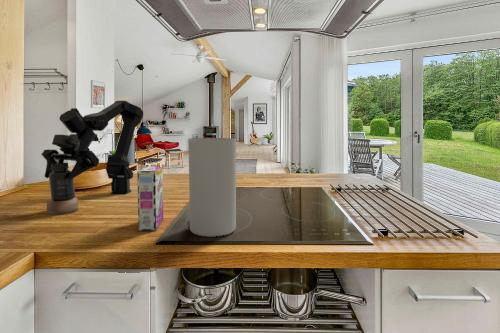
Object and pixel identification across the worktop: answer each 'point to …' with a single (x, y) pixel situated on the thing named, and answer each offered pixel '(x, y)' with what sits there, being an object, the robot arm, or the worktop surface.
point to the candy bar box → (150, 198)
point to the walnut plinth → (62, 206)
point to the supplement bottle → (61, 182)
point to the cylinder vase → (212, 186)
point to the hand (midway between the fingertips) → (57, 178)
